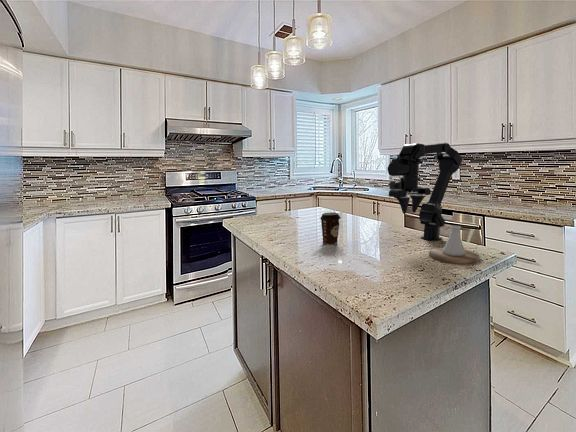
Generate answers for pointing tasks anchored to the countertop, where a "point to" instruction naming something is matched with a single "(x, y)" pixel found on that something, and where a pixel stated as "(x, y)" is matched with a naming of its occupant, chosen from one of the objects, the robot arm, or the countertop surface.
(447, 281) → the countertop surface
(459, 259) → the walnut board
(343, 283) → the countertop surface
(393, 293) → the countertop surface
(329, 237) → the coffee cup
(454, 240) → the flask
